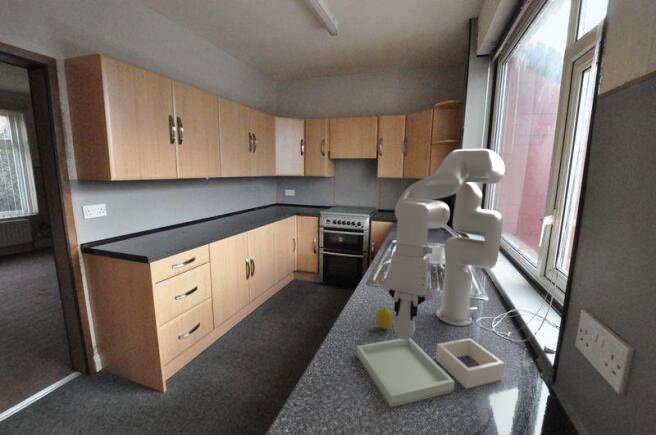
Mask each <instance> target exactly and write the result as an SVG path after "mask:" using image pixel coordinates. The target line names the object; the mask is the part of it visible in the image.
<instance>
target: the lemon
mask: <svg viewBox="0 0 656 435" xmlns="http://www.w3.org/2000/svg"><path fill="white" fill-rule="evenodd" d="M375 319H376V324H377V325H378V327H380V328H382V329H383V330H385V329H388V328H389V327H391V325H392V323H393V313H392V312H391V310H390V309H389V308H387V307H381V308H379V309H378V310H377V313H376V317H375Z"/></svg>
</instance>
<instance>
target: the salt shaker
mask: <svg viewBox="0 0 656 435" xmlns="http://www.w3.org/2000/svg"><path fill="white" fill-rule="evenodd" d="M399 298H400V299H401V300H400V307H399V312H398V316H396V315H395V317H394V321H393V325H392V326H393V330H394V332H395V336H396V337H397V338H398V339H405V340H409V339H410V338H411V339H412V337H413V335H414V334H415V333H416V332H415V331H416V321H415V320H416V319H415V318H416V317H415V316H414V317H413V321H412V320H411V315H410V311H411V305H412V303H413V294H409V293H404V292H400V293H399Z"/></svg>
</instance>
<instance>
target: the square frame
mask: <svg viewBox="0 0 656 435" xmlns="http://www.w3.org/2000/svg"><path fill="white" fill-rule="evenodd" d="M466 356H467V357H468V356H469V357H470V358H471V359H472V360H473V361H474V362H476V363H477V364H478V365H476V366H471V367H468V366H467V365H466V364H465V363H463V362H462V361H461V360H460V359H459V358H461V357H466ZM435 360H436V362H438V363H439V364H440V365H441V366H442V367H443V368H444V369H445V370H446V371H447V372H448V373H449V374H450V375H452V377H454V379H455V380H456V381H457V382H459V383H460V384H461V385H462V386H463V387H464V388H465V389H471V388H474V387H479V386H481V385H486V384H487V385H488V384H491V383H494V382H498V381H501V380H503V375H504V368H505V362H504V361H503V360H501V359H500V358H498V357H497V356H496V355H494V354H493V353H492V352H490V351H489V350H487V349H486V348H484V347H483V346H482V345H480V344H479V343H478V342H476V341H475V340H473V339H472V338H471V337H466V338H462V339H456V340H451V341H445V342H441V343H440V342H439V343H437V344H436V353H435Z"/></svg>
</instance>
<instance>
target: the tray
mask: <svg viewBox="0 0 656 435" xmlns="http://www.w3.org/2000/svg"><path fill="white" fill-rule="evenodd" d="M356 357H357V359H359V361H360V363H361V364H362V366H363V367H364V369H365V370H366V372H367V373H368V376H370V378H371V379H372V381H373V383H374V385H376V387H377V389H378V391H379V393H381V395H382V397H383V399H384V400H385V402H386V403H387V404H388V406H389V408H394V407H399V406H403V405H406V404H411V403H415V402H419V401H422V400H426V399H431V398H434V397H439V396H443V395H446V394H450V393H454V390H455V384H456V383H455V380H454V379H453V378H452V377H451V376H450V375H449V374H448V373H447V372H446V371H445V370H444V369H443V368H442V367H440V366H439V364H437V363H436V361H435V360H433V358H431V357H430V356H429V354H427V353H426V352H425V351H424V350H423V349H422V348H421V347H420V346H419V345H418V344H417V342H415V341H414V339H412V337H411V338H410V339H409V340H405V339H400V338H396V339H390V340H384V341H378V342H372V343H368V344H362V345H361V344H360V345H357V346H356Z"/></svg>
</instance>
